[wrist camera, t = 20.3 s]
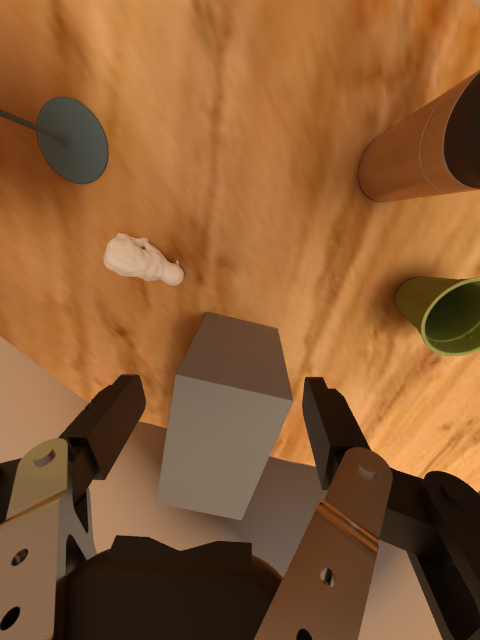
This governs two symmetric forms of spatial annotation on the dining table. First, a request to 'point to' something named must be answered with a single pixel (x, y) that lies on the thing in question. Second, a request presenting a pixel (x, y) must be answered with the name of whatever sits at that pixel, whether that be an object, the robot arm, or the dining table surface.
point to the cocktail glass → (69, 139)
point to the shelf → (224, 416)
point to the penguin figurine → (140, 260)
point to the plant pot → (443, 312)
